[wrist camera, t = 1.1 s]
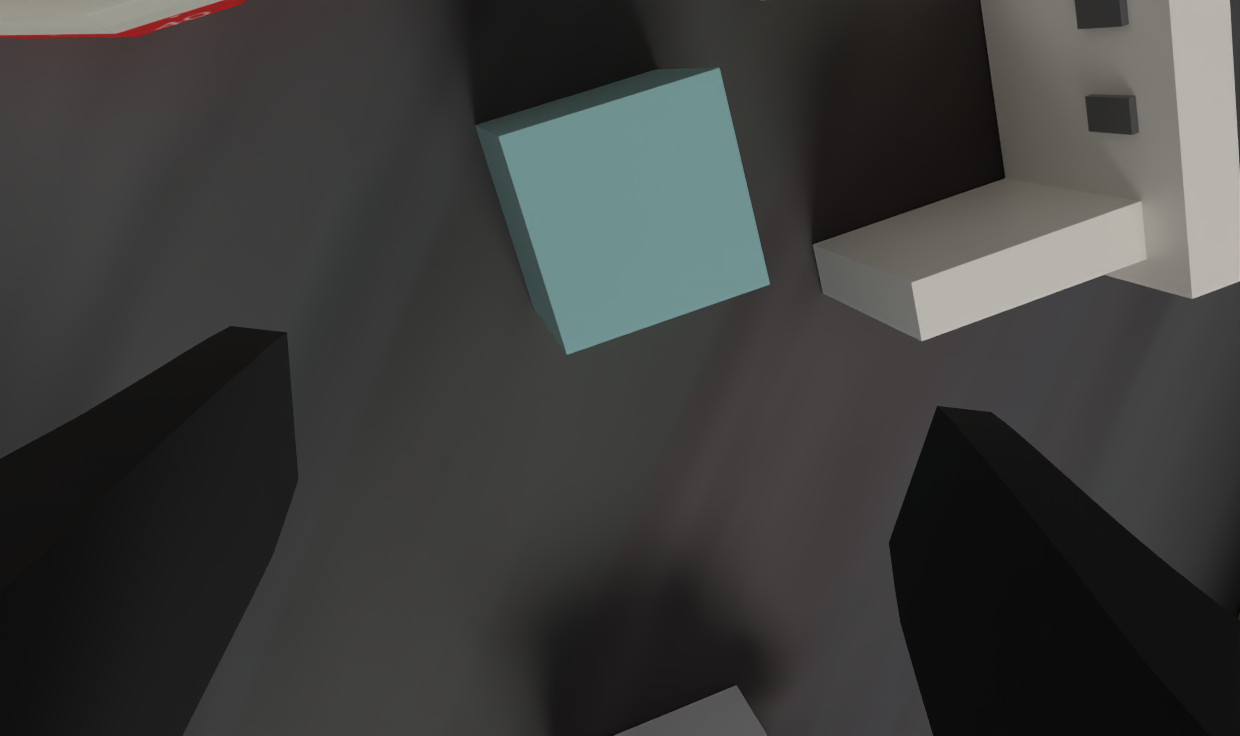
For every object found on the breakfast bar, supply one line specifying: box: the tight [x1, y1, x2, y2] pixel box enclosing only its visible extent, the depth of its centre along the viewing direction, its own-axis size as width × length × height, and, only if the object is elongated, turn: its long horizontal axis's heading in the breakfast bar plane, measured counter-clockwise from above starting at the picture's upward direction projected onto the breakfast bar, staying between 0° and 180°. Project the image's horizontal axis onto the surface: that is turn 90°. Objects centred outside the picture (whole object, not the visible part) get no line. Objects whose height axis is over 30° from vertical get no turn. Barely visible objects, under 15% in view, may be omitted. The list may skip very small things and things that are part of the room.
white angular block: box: [760, 0, 1240, 341], centre depth 20 cm, size 6×9×6 cm
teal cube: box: [475, 68, 770, 355], centre depth 19 cm, size 4×4×4 cm
